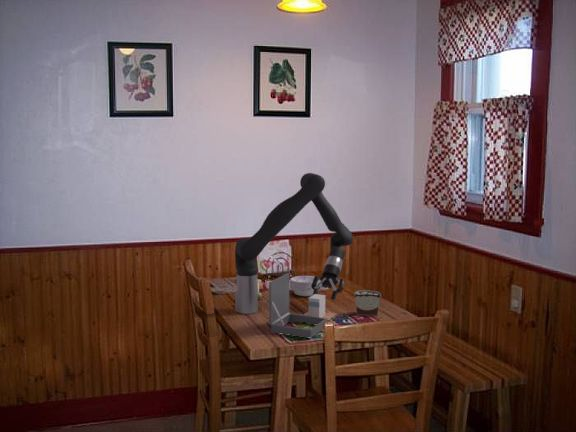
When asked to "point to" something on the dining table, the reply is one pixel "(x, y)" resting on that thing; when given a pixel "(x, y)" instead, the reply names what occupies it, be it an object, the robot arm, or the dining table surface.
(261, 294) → the cat figure
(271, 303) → the equipment case
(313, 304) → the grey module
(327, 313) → the terracotta mat
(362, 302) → the food container
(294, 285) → the paper bowls
